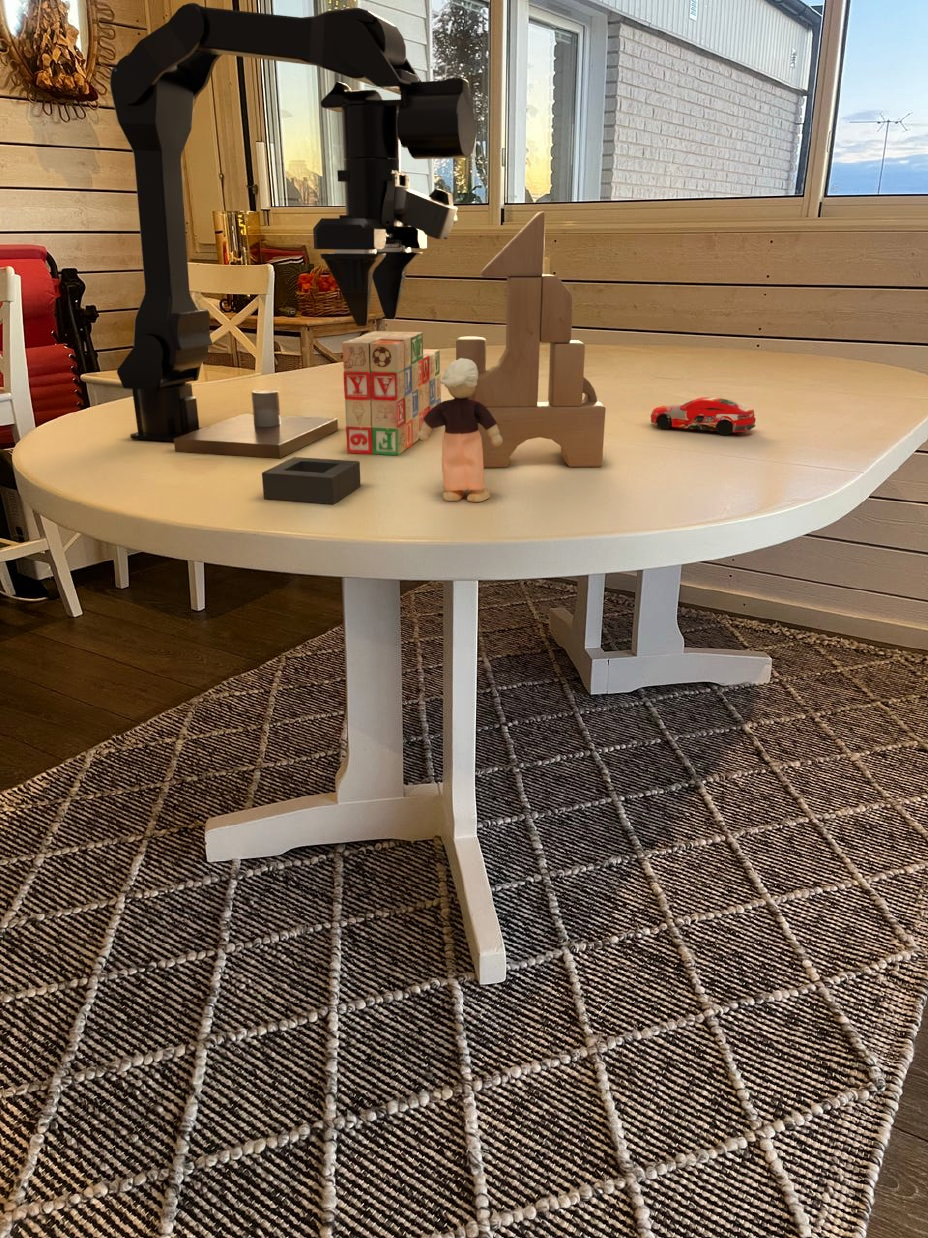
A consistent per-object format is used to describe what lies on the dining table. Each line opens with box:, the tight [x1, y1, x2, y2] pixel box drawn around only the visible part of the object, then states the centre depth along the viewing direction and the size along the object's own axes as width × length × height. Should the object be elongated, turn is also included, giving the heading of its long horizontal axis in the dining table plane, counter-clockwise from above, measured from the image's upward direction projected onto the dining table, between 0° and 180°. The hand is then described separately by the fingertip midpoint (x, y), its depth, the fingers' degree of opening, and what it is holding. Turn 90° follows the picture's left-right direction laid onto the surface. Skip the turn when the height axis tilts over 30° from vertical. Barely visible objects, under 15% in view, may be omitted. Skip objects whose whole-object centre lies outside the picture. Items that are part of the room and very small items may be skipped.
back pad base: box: [173, 388, 339, 459], centre depth 109 cm, size 13×17×6 cm
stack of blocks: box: [341, 330, 442, 456], centre depth 110 cm, size 21×6×12 cm, turn 168°
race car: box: [650, 396, 757, 436], centre depth 117 cm, size 13×5×4 cm, turn 60°
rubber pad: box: [261, 456, 362, 505], centre depth 87 cm, size 7×7×2 cm
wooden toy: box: [455, 211, 607, 469], centre depth 96 cm, size 16×7×25 cm, turn 93°
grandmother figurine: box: [418, 358, 503, 503], centre depth 84 cm, size 8×4×13 cm, turn 91°
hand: (376, 322), depth 98 cm, fingers open, 9 cm apart
